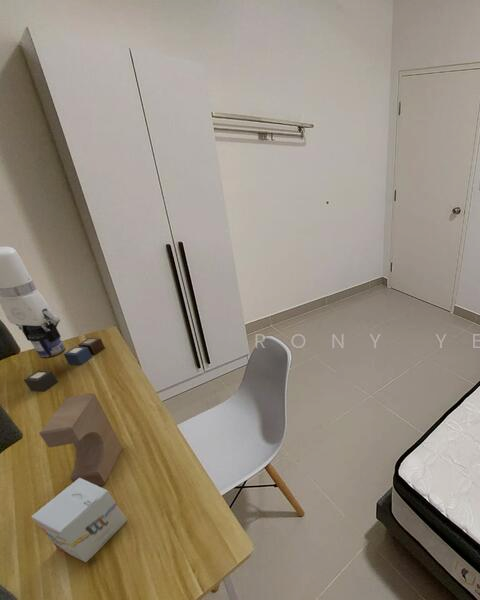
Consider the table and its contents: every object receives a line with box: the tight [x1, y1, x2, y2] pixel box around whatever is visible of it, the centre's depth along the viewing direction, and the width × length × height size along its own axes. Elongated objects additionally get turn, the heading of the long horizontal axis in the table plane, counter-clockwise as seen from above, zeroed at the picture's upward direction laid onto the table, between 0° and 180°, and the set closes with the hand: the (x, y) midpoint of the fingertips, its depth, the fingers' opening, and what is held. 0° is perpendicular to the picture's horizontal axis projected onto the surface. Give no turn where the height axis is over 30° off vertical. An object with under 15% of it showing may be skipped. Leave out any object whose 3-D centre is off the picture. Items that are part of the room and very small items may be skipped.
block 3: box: [77, 337, 106, 356], centre depth 121 cm, size 4×4×5 cm
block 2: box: [63, 346, 93, 366], centre depth 116 cm, size 4×4×5 cm
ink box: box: [30, 478, 128, 563], centre depth 67 cm, size 9×9×12 cm
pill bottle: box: [27, 322, 66, 359], centre depth 105 cm, size 6×6×11 cm
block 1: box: [23, 369, 59, 392], centre depth 104 cm, size 4×4×5 cm
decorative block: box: [38, 392, 123, 487], centre depth 78 cm, size 11×6×20 cm, turn 16°
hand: (44, 338), depth 104 cm, fingers closed on pill bottle, 6 cm apart
